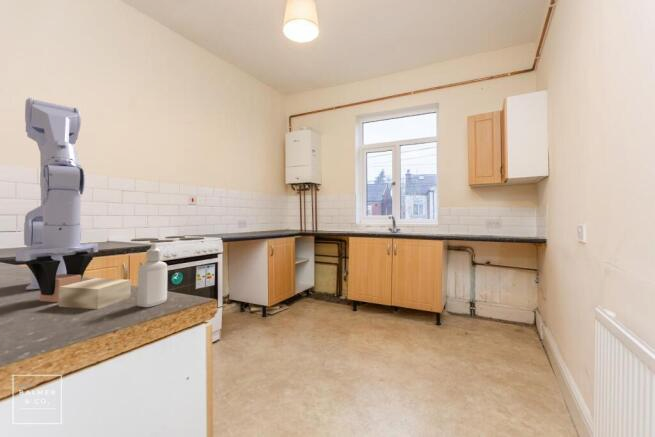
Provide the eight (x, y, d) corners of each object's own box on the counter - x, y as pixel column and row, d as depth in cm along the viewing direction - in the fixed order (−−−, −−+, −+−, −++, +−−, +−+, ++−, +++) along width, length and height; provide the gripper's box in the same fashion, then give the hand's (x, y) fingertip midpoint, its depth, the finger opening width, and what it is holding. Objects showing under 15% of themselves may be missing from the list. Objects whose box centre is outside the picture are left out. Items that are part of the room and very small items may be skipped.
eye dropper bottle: (171, 303, 60) (173, 243, 60) (139, 309, 56) (141, 244, 56) (163, 298, 63) (165, 241, 63) (133, 304, 59) (134, 243, 59)
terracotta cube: (39, 300, 60) (39, 278, 60) (62, 294, 64) (63, 273, 64) (58, 302, 59) (59, 279, 59) (80, 296, 63) (81, 275, 63)
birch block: (58, 308, 57) (59, 286, 57) (95, 296, 65) (96, 278, 65) (97, 310, 56) (98, 289, 56) (130, 298, 64) (130, 279, 64)
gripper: (39, 226, 54) (37, 302, 54) (110, 224, 68) (109, 284, 68) (6, 225, 55) (5, 300, 55) (83, 223, 69) (82, 282, 69)
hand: (60, 291), depth 62 cm, fingers closed on terracotta cube, 4 cm apart
